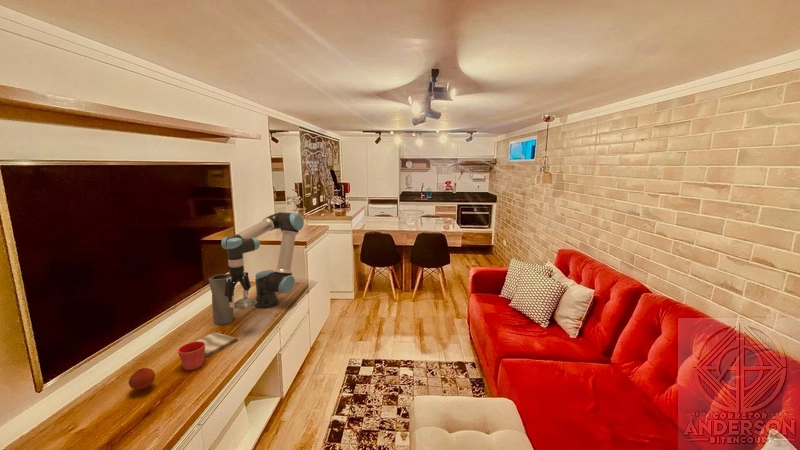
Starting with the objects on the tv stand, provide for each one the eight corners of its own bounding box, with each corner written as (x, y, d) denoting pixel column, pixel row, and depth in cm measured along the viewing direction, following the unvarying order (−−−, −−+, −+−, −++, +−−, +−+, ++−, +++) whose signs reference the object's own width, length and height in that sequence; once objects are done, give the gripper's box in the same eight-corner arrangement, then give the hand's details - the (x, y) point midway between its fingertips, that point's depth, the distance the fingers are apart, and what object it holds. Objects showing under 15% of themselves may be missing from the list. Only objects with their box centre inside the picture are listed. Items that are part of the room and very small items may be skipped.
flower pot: (182, 362, 156) (180, 343, 155) (208, 357, 160) (206, 339, 159) (177, 374, 147) (175, 354, 145) (205, 368, 151) (203, 349, 149)
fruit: (132, 384, 140) (129, 367, 138) (157, 378, 144) (155, 361, 143) (127, 396, 132) (124, 378, 131) (154, 389, 136) (151, 372, 135)
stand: (214, 334, 183) (214, 331, 183) (237, 340, 176) (237, 337, 176) (183, 350, 167) (182, 346, 166) (207, 357, 160) (206, 354, 160)
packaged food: (246, 311, 176) (246, 302, 176) (229, 310, 180) (228, 301, 180) (258, 306, 185) (257, 297, 184) (241, 304, 188) (240, 296, 188)
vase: (208, 327, 192) (203, 279, 187) (221, 318, 204) (217, 273, 199) (227, 328, 190) (223, 280, 186) (240, 319, 202) (236, 273, 198)
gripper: (246, 260, 191) (248, 296, 194) (214, 270, 171) (217, 310, 174) (256, 261, 188) (258, 298, 192) (224, 271, 168) (228, 312, 172)
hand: (239, 304), depth 183 cm, fingers closed on packaged food, 9 cm apart
